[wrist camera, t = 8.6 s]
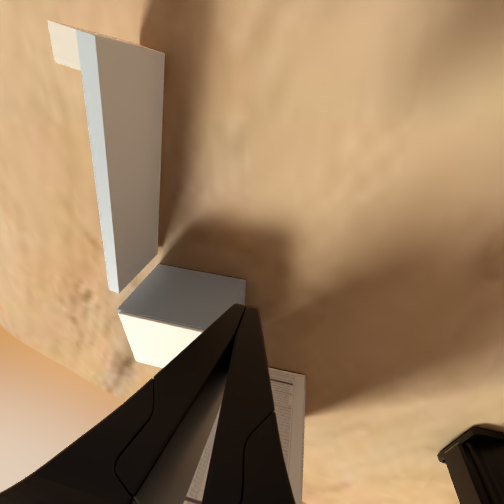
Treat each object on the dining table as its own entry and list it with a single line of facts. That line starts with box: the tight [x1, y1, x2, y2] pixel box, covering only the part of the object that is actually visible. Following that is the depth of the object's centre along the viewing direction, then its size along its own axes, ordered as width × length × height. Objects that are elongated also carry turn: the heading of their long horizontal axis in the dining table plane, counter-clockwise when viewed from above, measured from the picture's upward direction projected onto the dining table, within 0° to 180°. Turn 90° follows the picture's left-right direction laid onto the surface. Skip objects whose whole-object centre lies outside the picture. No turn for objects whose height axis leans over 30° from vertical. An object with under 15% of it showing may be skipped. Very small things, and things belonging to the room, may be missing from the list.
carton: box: [117, 264, 246, 368], centre depth 17 cm, size 6×6×5 cm
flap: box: [47, 20, 165, 293], centre depth 12 cm, size 11×2×4 cm, turn 166°
